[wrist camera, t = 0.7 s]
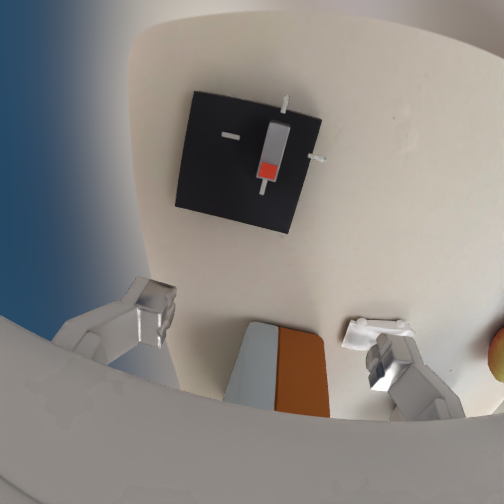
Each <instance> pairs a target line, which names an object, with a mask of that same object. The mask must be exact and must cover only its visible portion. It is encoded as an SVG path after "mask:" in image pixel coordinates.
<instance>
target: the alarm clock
mask: <svg viewBox="0 0 504 504" xmlns="http://www.w3.org/2000/svg"><path fill="white" fill-rule="evenodd" d="M223 401H225V402H230V403H235V404H240V405H245V406H250V407H255V408H260V409H266V410H272V411H278V412H285V413H292V414H299V415H307V416H316V417H326V418H330V409H329V395H328V384H327V373H326V362H325V352H324V342H323V340H322V338H321V337H319V336H318V335H315V334H310V333H306V332H301V331H296V330H292V329H287V328H283V327H279V328H278V326H274V325H270V324H265V323H261V322H257V321H256V322H251V323H250V324H249V326H248V327H247V329H246V332H245V335H244V338H243V341H242V344H241V347H240V350H239V353H238V356H237V359H236V362H235V365H234V368H233V371H232V374H231V377H230V380H229V383H228V386H227V389H226V392H225V395H224V398H223Z"/></svg>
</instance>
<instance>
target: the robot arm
mask: <svg viewBox="0 0 504 504" xmlns="http://www.w3.org/2000/svg"><path fill="white" fill-rule="evenodd" d="M176 291H177V288H176V287H175V286H172V285H168V284H165V283H162V282H158V281H155V280H151V279H148V278H145V277H141V276H139V277H137V278H136V279H135V281H134V282H133V284H132V285H131V286H130V288H129V289H128V291H127V292H126V294H125V295H124V296H123V298H122V299H121V301H118V300H116V301H114V302H111V303H109V304H107V305H104V306H102V307H99V308H97V309H94V310H92V311H89V312H87V313H84V314H82V315H79V316H77V317H75V318H72V319H70V320H67V321H66V322H65V323H64V325H63V326H62V328H61V329H60V330H59V332H58V333H57V334H56V336H55V337H54V338H53V340H52V341H51V342H50V341H48V340H46V339H44V338H42V337H40V336H38V335H36V334H34V333H32V332H30V331H28V330H26V329H24V328H22V327H21V326H19V325H17V324H15V323H13V322H12V321H10V320H8V319H6V318H4V317H3V316H1V315H0V504H504V413H500V414H493V415H486V416H478V417H470V418H466V416H465V413H464V410H463V408H462V405H461V402H460V399H459V397H458V396H457V395H456V394H455V393H454V392H453V391H452V390H451V389H450V388H449V387H448V386H447V385H446V384H445V383H444V382H443V381H442V380H441V379H440V378H439V377H438V376H437V375H436V374H435V373H434V372H433V371H432V370H431V369H430V368H429V367H428V366H427V365H424V364H423V361H422V358H421V355H420V353H419V350H418V348H417V345H416V342H415V340H414V338H412V337H409V336H400V335H394V334H387V333H381V334H380V335H379V336H378V337H377V339H376V342H377V344H375V345H373V346H372V347H371V348H370V349H369V351H368V353H367V356H366V368H367V369H368V370H369V372H370V375H369V377H368V378H369V383H370V388H371V390H380V391H388V394H389V395H390V396H391V398H392V399H393V401H394V402H395V404H396V405H397V407H398V408H399V409H400V411H401V412H402V414H403V415H404V417H405V418H406V420H407V421H370V420H351V419H337V418H326V417H316V416H307V415H299V414H292V413H285V412H278V411H272V410H266V409H260V408H255V407H250V406H245V405H240V404H235V403H230V402H225V401H221V400H217V399H212V398H208V397H204V396H200V395H196V394H192V393H189V392H185V391H181V390H178V389H174V388H171V387H167V386H164V385H161V384H157V383H154V382H151V381H148V380H145V379H142V378H139V377H136V376H133V375H130V374H128V373H125V372H122V371H119V370H116V369H114V368H111V367H108V364H109V363H110V362H112V361H113V360H115V359H116V358H118V357H119V356H121V355H122V354H124V353H125V352H127V351H128V350H130V349H132V348H133V347H134V346H136V345H138V344H139V342H140V343H143V344H147V345H150V346H154V347H157V348H161V346H162V344H163V341H164V339H165V337H166V329H168V328H170V326H171V323H172V320H173V317H174V312H175V303H174V299H175V297H176Z"/></svg>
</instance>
